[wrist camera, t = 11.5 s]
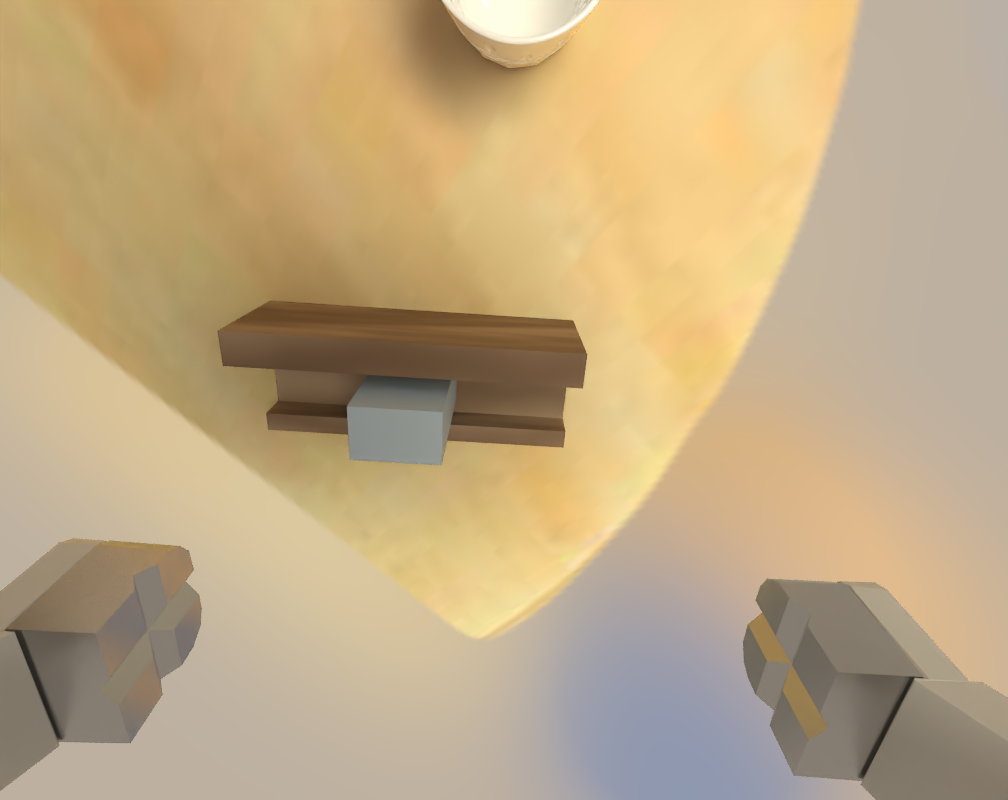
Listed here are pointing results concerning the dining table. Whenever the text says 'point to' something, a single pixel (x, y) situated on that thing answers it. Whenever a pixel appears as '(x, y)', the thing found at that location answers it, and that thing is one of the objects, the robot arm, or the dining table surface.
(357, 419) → the cabinet block
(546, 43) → the white cup
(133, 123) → the dining table surface
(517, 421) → the cleat board
